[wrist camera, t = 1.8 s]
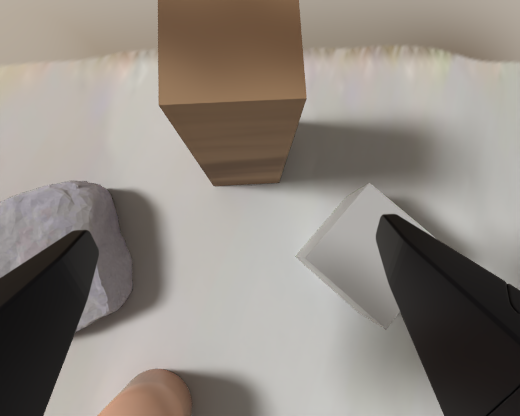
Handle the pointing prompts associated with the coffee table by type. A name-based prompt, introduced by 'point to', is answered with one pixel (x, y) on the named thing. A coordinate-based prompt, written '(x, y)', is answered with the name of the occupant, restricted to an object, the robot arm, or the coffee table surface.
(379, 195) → the grey faceted block
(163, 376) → the terracotta puck
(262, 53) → the walnut block
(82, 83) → the coffee table surface
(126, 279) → the stone block
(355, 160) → the coffee table surface
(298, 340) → the coffee table surface
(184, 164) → the coffee table surface
